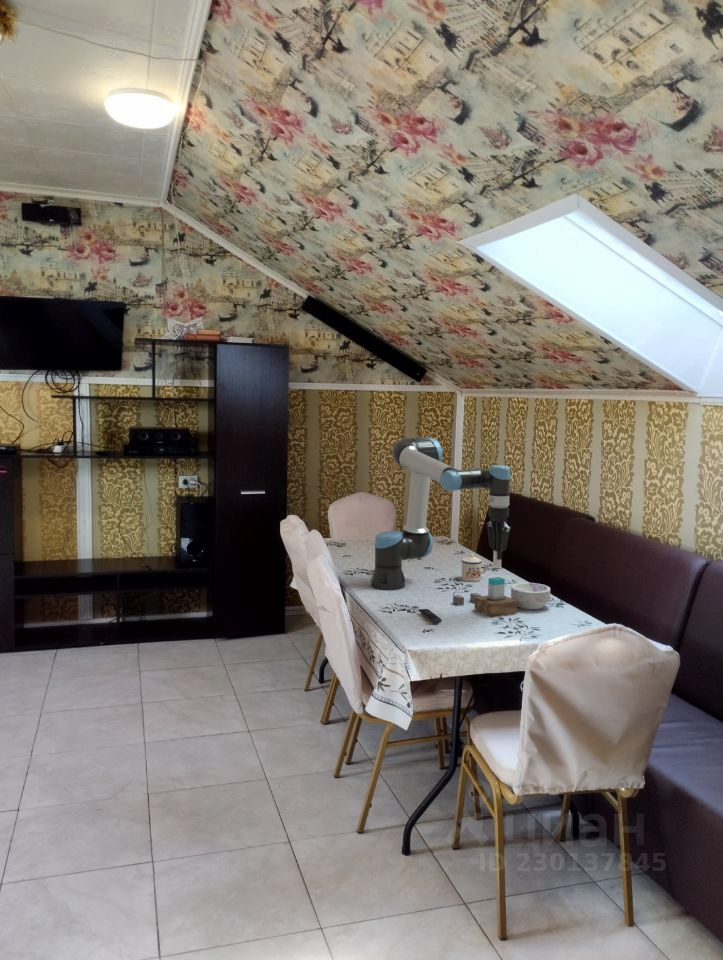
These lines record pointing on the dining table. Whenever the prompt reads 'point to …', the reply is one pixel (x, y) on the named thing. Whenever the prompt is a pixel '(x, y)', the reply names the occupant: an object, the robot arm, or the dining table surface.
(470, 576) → the teacup with lid
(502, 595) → the plug
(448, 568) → the dining table surface
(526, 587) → the white floral bowl
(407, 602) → the dining table surface
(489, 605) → the port
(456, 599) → the pair of grey prisms
